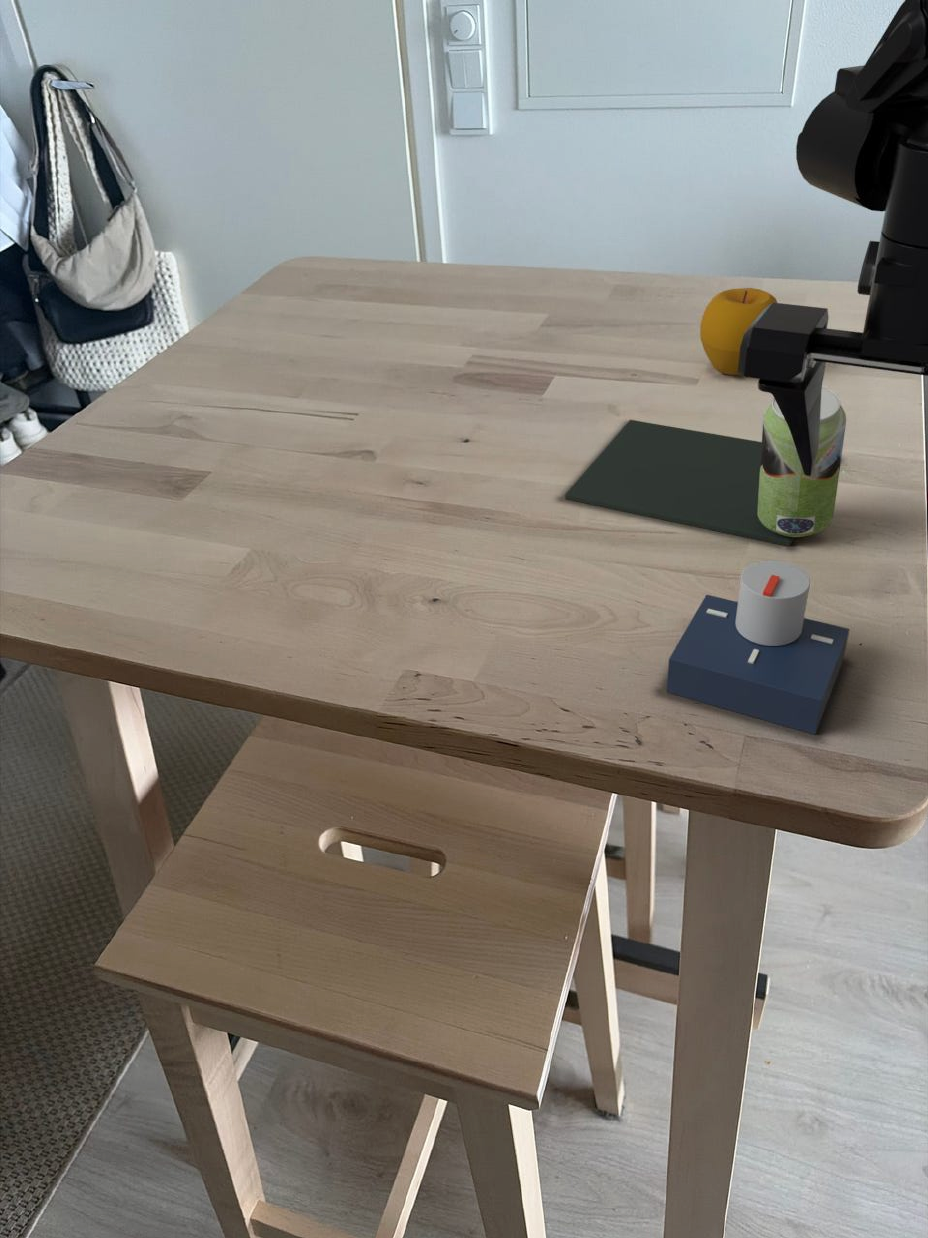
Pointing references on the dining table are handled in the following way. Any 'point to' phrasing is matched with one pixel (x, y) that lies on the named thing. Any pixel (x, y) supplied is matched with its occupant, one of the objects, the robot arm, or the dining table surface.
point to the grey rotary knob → (772, 602)
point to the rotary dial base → (757, 668)
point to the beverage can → (800, 472)
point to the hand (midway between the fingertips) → (883, 486)
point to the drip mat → (679, 479)
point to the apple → (730, 325)
